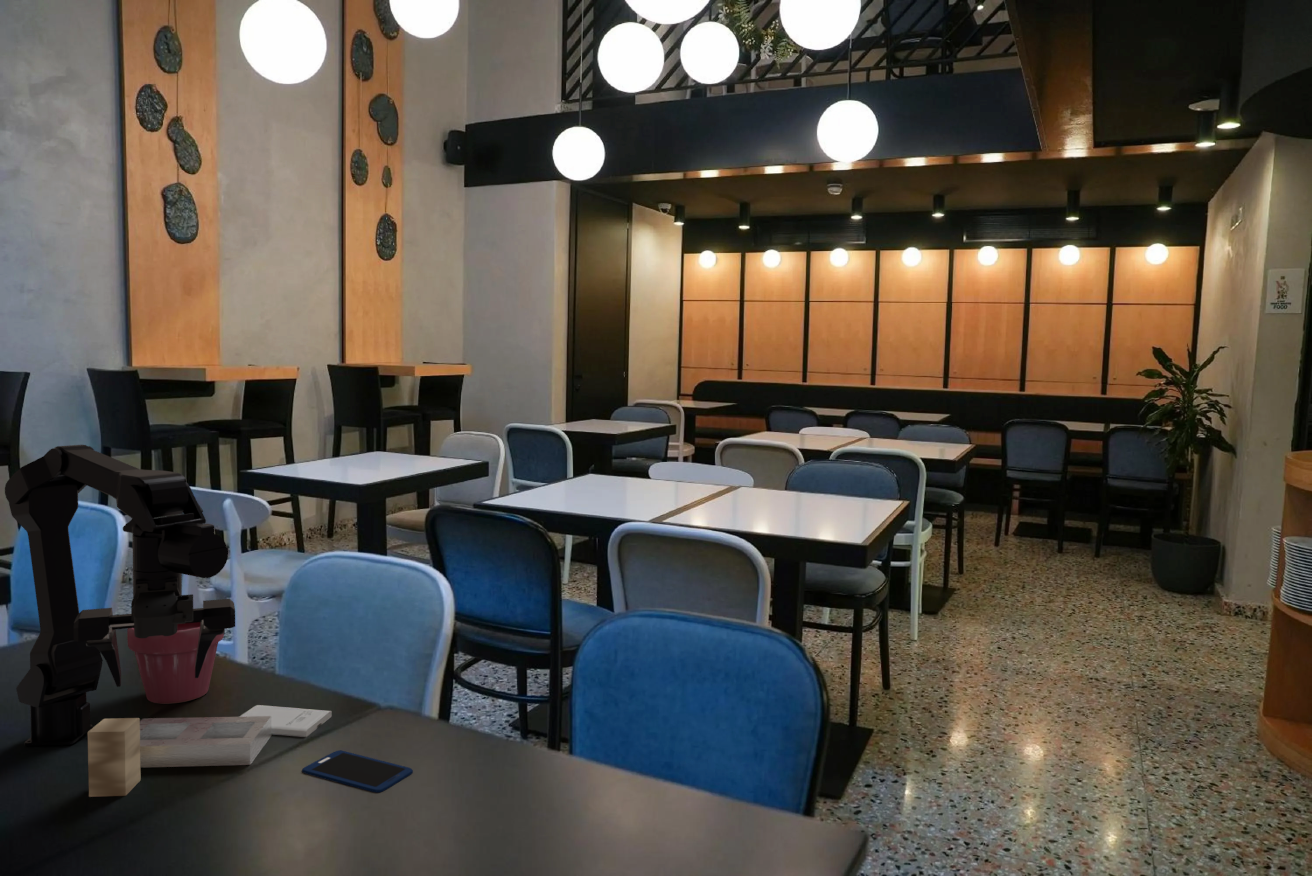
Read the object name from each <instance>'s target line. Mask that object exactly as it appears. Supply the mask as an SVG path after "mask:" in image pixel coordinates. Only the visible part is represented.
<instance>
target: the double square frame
mask: <svg viewBox="0 0 1312 876" xmlns="http://www.w3.org/2000/svg"><path fill="white" fill-rule="evenodd" d="M271 737H272V734H271V716H249V717H239V716H211V717H209V716H208V717H207V716H206V717H156V718H155V717H153V718H151V717H150V718H148V717H147V718H145V717H144V718H142V719H140V769H141V768H167V767H168V768H170V767H171V768H172V767H173V768H174V767H176V768H177V767H178V768H179V767H210V766H211V767H212V766H215V767H216V766H217V767H219V766H246V765H247V766H251V765H252V763H253V762H254V760H255V759H256V758H257V756H258V755H259V753H260V752H261V751H262V749H263V748H264V747H265V745H266V744H267V742H268V741H269V739H270V738H271Z"/></svg>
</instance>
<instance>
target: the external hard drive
mask: <svg viewBox="0 0 1312 876" xmlns="http://www.w3.org/2000/svg"><path fill="white" fill-rule="evenodd" d="M249 716H271V735H273V736H275V735H277V736H288V737H289V736H290V737H301V738H307V737H308V736H310V735H311V734H313V732H315V731H316V730H317V729H318V728H319V727H320V726H322V725H324V723H325V722H327V721H328V720H329V719H330V718H332V710H323V709H322V710H321V709H309V708H298V707H290V706H289V707H287V706H286V707H285V706H275V705H273V706H272V705H265V704H264V705H262V704H261V705H260V704H256V705H254V706H252V708H250V709H249V710H247V711H245V712H243V713H242V714H241V715H240V716H238V717H249Z"/></svg>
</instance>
